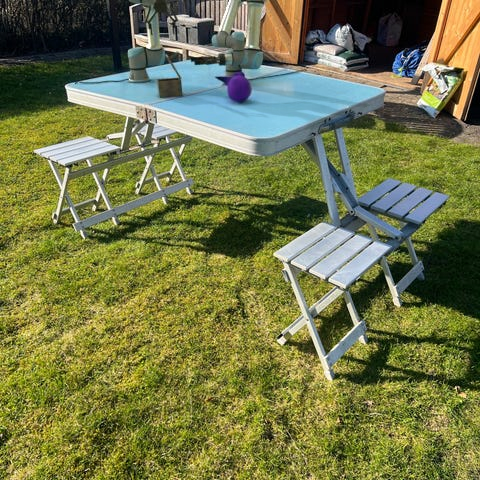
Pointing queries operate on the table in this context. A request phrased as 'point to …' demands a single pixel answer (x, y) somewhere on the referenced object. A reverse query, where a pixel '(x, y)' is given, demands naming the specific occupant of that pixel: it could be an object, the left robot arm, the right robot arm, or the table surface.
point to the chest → (169, 87)
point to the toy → (237, 86)
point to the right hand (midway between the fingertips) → (192, 61)
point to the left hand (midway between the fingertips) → (162, 34)
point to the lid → (172, 63)
